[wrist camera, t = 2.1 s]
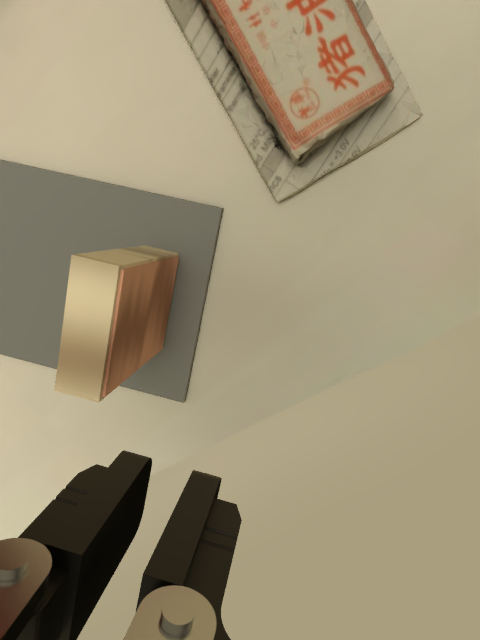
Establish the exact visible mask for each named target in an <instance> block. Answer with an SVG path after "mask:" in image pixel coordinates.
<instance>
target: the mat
mask: <svg viewBox="0 0 480 640" xmlns="http://www.w3.org/2000/svg"><path fill="white" fill-rule="evenodd" d="M222 212H223V208H219V207H214V206H210V205H205V204H201V203H196V202H191V201H187V200H182V199H178V198H173V197H168V196H164V195H159V194H155V193H150V192H146V191H141V190H136V189H132V188H127V187H123V186H118V185H113V184H109V183H104V182H100V181H95V180H91V179H86V178H81V177H77V176H72V175H68V174H63V173H59V172H54V171H49V170H45V169H40V168H36V167H31V166H26V165H22V164H17V163H13V162H8V161H4V160H0V354H2V355H5V356H9V357H13V358H17V359H21V360H24V361H28V362H32V363H36V364H39V365H43V366H47V367H51V368H54V369H57V367H58V359H59V351H60V343H61V335H62V327H63V319H64V311H65V303H66V295H67V287H68V279H69V271H70V263H71V255H72V254H80V253H88V252H96V251H104V250H112V249H120V248H128V247H136V246H144V245H146V246H150V247H155V248H159V249H163V250H168V251H172V252H176V253H179V255H178V257H179V261H178V267H177V272H176V278H175V283H174V289H173V294H172V300H171V306H170V311H169V317H168V322H167V328H166V333H165V339H164V345H163V349H162V350H161V351H160V352H158V353H157V354H156V355H155V356H154V357H152V358H151V359H150V360H149V361H148V362H146V363H145V364H144V365H143V366H142V367H140V368H139V369H138V370H137V371H136V372H134V373H133V374H132V375H131V376H130V377H128V378H127V379H126V380H125V381H124V382H123V383H121V384H120V385H119V386H122V387H126V388H130V389H134V390H137V391H141V392H145V393H149V394H153V395H156V396H160V397H164V398H168V399H171V400H175V401H179V402H183V403H184V401H185V400H186V395H187V390H188V385H189V380H190V374H191V369H192V364H193V359H194V354H195V349H196V344H197V339H198V334H199V329H200V324H201V319H202V314H203V309H204V304H205V298H206V293H207V288H208V283H209V278H210V273H211V268H212V263H213V258H214V253H215V248H216V243H217V238H218V233H219V227H220V222H221V217H222Z"/></svg>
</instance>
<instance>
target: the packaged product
mask: <svg viewBox="0 0 480 640" xmlns="http://www.w3.org/2000/svg"><path fill="white" fill-rule="evenodd" d="M166 2H167V4H168V6H169V7H170V9H171V11H172V13H173V15H174V17H175V19H176V21H177V23H178V24H179V26H180V28H181V30H182V32H183V34H184V36H185V38H186V39H187V41H188V43H189V44H190V46H191V48H192V49H193V51H194V53H195V54H196V56H197V58H198V60H199V62H200V64H201V66H202V68H203V69H204V71H205V73H206V75H207V77H208V79H209V81H210V83H211V85H212V87H213V89H214V90H215V92H216V94H217V96H218V98H219V100H220V101H221V103H222V105H223V106H224V108H225V110H226V111H227V113H228V115H229V116H230V118H231V120H232V122H233V124H234V125H235V127H236V129H237V131H238V133H239V135H240V137H241V139H242V140H243V142H244V144H245V146H246V148H247V150H248V152H249V153H250V155H251V157H252V159H253V161H254V163H255V165H256V167H257V168H258V170H259V172H260V174H261V176H262V178H263V180H264V181H265V183H266V184H267V186H268V188H269V189H270V191H271V192H272V194H273V196H274V197H275V199H276V201H277V202H279V201H282V200H284V199H286V198H288V197H290V196H292V195H294V194H296V193H298V192H300V191H302V190H303V189H305V188H306V187H307V186H309V185H310V184H312V183H313V182H315V181H316V180H318V179H319V178H321V177H322V176H324V175H325V174H327V173H328V172H330V171H332V170H334V169H336V168H338V167H340V166H342V165H344V164H346V163H348V162H350V161H352V160H354V159H355V158H357V157H359V156H361V155H362V154H364V153H366V152H367V151H369V150H371V149H373V148H374V147H376V146H378V145H380V144H381V143H383V142H385V141H386V140H388V139H389V138H391V137H392V136H393V135H395V134H396V133H398V132H399V131H400V130H402V129H403V128H405V127H406V126H407V125H409V124H410V123H412V122H413V121H415V120H416V119H418V118H419V117H420V116H422V115H423V114H422V113H421V111H420V109H419V107H418V105H417V103H416V101H415V99H414V97H413V95H412V93H411V91H410V89H409V86H408V84H407V82H406V80H405V78H404V76H403V74H402V72H401V70H400V68H399V67H398V65H397V63H396V62H395V60H394V58H393V56H392V54H391V52H390V50H389V48H388V46H387V44H386V42H385V40H384V37H383V35H382V33H381V31H380V29H379V27H378V25H377V23H376V21H375V19H374V17H373V15H372V13H371V11H370V9H369V7H368V5H367V3H366V1H365V0H166Z"/></svg>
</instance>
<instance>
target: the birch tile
mask: <svg viewBox="0 0 480 640" xmlns="http://www.w3.org/2000/svg"><path fill="white" fill-rule="evenodd" d="M178 255H179V253H176V252H172V251H168V250H163V249H159V248H155V247H150V246H146V245H144V246H136V247H128V248H120V249H112V250H104V251H96V252H88V253H80V254H72V255H71V263H70V271H69V279H68V287H67V295H66V303H65V311H64V319H63V327H62V335H61V343H60V351H59V359H58V367H57V375H56V383H55V391H59V392H63V393H66V394H70V395H74V396H77V397H81V398H85V399H88V400H92V401H96V402H100V401H101V400H102V399H103V398H105V397H106V396H107V395H108V394H109V393H111V392H112V391H113V390H114V389H115V388H117V387H118V386H119V385H120V384H121V383H123V382H124V381H125V380H126V379H127V378H128V377H130V376H131V375H132V374H133V373H134V372H136V371H137V370H138V369H139V368H140V367H142V366H143V365H144V364H145V363H146V362H148V361H149V360H150V359H151V358H152V357H154V356H155V355H156V354H157V353H158V352H160V351H161V350H162V349H163V345H164V339H165V333H166V328H167V322H168V317H169V311H170V306H171V300H172V294H173V289H174V283H175V278H176V272H177V267H178V261H179V257H178Z"/></svg>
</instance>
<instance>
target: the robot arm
mask: <svg viewBox="0 0 480 640" xmlns="http://www.w3.org/2000/svg"><path fill="white" fill-rule="evenodd" d="M151 467H152V459H151V458H149V457H145V456H142V455H138V454H135V453H131V452H127V451H122V452H121V453H120V454H119V455H118V457H117V458H116V459H115V460H114V461H113V463H112V464H111V465H110V466H109V467H108V468H107V467H104V466H100V465H97V464H96V465H94V466H92V467H90V468H88V469H86V470H84V471H82V472H80V473H78V474H77V475H76V476H75V477H74V478H73V479H72V481H71V482H70V483H69V484H68V485H67V486H66V488H65V489H63V490H62V491H61V492H60V493H59V494H58V495H57V497H56V499H55V500H53V501H52V502H51V503H50V504H49V505H48V506H47V507H46V508H45V509H44V510H43V511H42V513H41V514H40V515H39V516H38V517H37V518H36V519H35V520H34V521H33V522H32V523H31V524H30V525H29V526H28V527H27V529H26V530H25V531H24V532H23V533H22V534H21V535H20V536H19V537H18V538H10V539H5V540H1V541H0V640H76V639H77V638H78V636H79V634H80V632H81V631H82V629H83V627H84V625H85V624H86V622H87V620H88V618H89V616H90V615H91V613H92V611H93V609H94V608H95V606H96V604H97V602H98V600H99V599H100V597H101V595H102V593H103V592H104V590H105V588H106V586H107V585H108V583H109V581H110V579H111V577H112V576H113V574H114V572H115V571H116V569H117V567H118V565H119V563H120V562H121V560H122V558H123V556H124V555H125V553H126V551H127V549H128V548H129V546H130V544H131V542H132V540H133V538H134V537H135V534H136V532H137V530H138V527H139V524H140V521H141V518H142V514H143V510H144V505H145V499H146V494H147V488H148V483H149V478H150V472H151ZM220 483H221V478H220V477H217V476H213V475H210V474H206V473H202V472H199V471H195V470H193V471H192V473H191V475H190V478H189V480H188V482H187V484H186V486H185V488H184V490H183V492H182V494H181V496H180V498H179V501H178V502H177V505H176V507H175V509H174V511H173V513H172V515H171V517H170V519H169V521H168V523H167V525H166V527H165V530H164V532H163V534H162V536H161V538H160V540H159V542H158V544H157V547H156V548H155V550H154V553H153V555H152V557H151V559H150V561H149V563H148V565H147V567H146V569H145V571H144V573H143V578H142V583H141V588H140V593H139V598H138V603H137V608H136V614H135V616H134V618H133V620H132V622H131V624H130V626H129V628H128V631H127V633H126V635H125V637H124V639H123V640H231V639H230V638H229V637H228V635H227V633H226V631H225V629H224V627H223V624H222V620H221V605H222V601H223V597H224V592H225V588H226V584H227V579H228V575H229V571H230V567H231V563H232V558H233V554H234V550H235V545H236V541H237V536H238V533H239V529H240V524H241V517H240V514H239V511H238V508H237V505H236V504H233V503H230V502H226V501H223V500H220V499H217V497H218V492H219V488H220Z"/></svg>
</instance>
